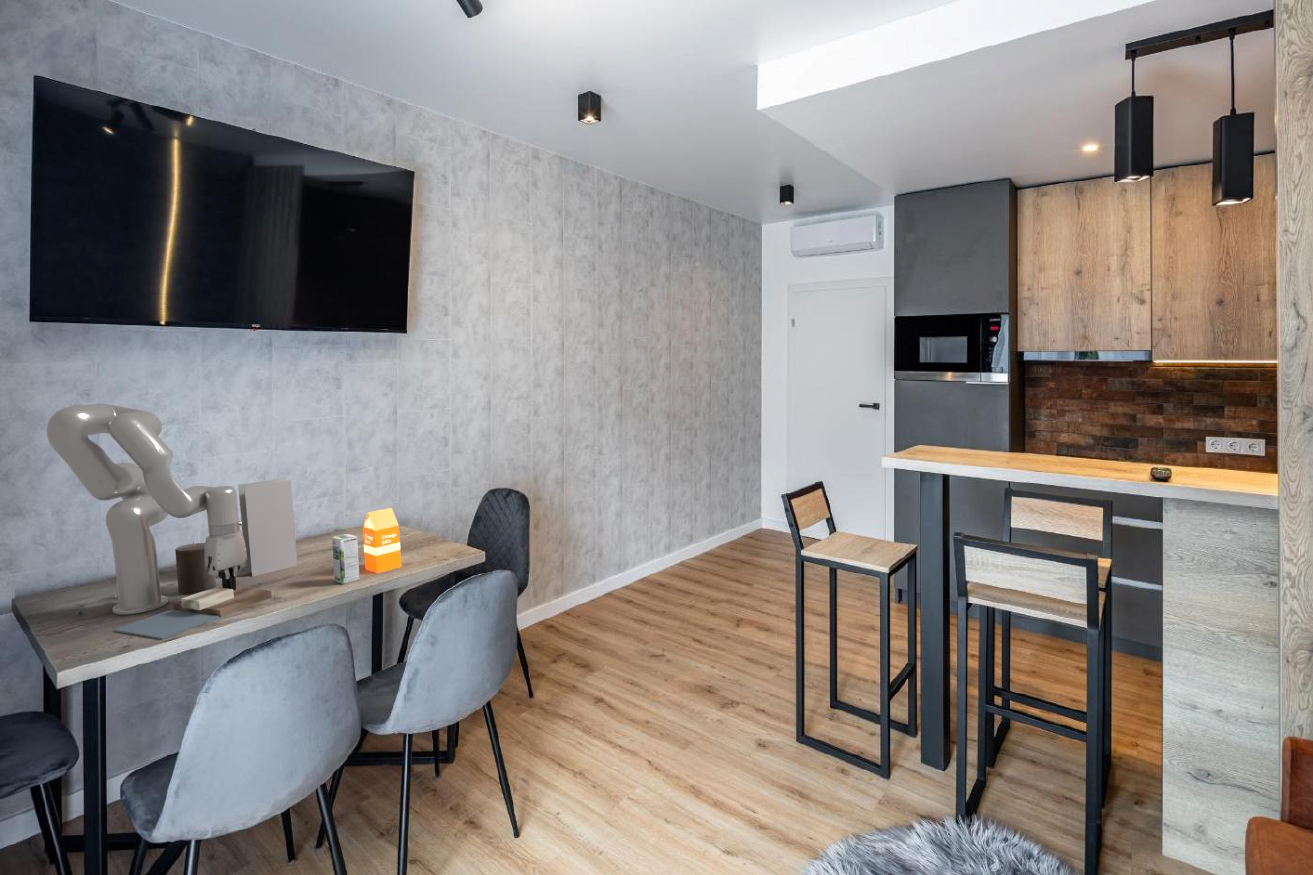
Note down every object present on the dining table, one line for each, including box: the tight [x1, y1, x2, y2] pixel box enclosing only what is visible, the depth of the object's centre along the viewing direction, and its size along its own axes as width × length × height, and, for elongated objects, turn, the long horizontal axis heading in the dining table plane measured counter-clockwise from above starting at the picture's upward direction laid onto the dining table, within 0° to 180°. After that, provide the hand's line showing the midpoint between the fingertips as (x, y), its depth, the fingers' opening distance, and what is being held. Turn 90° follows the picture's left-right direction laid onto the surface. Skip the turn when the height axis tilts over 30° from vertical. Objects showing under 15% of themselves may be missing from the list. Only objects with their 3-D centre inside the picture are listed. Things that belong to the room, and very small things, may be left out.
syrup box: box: [331, 533, 360, 585], centre depth 209 cm, size 6×6×14 cm
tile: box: [180, 586, 234, 610], centre depth 186 cm, size 7×10×2 cm
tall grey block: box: [237, 478, 298, 577], centre depth 221 cm, size 14×6×30 cm, turn 141°
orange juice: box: [362, 507, 402, 574], centre depth 221 cm, size 8×9×20 cm
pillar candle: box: [174, 542, 217, 595], centre depth 203 cm, size 10×10×15 cm
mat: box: [113, 608, 220, 641], centre depth 176 cm, size 18×15×1 cm
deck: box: [173, 586, 273, 618], centre depth 191 cm, size 18×16×2 cm
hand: (229, 590), depth 192 cm, fingers closed
